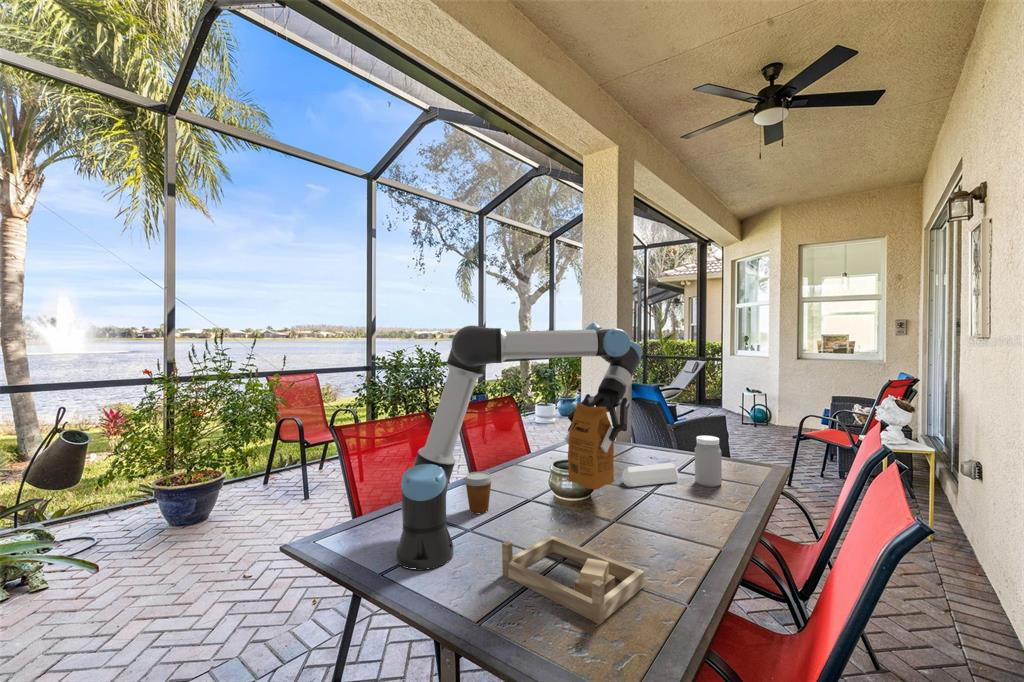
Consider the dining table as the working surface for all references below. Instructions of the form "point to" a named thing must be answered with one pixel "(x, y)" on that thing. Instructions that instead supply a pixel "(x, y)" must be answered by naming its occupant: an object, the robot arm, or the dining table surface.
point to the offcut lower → (588, 590)
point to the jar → (708, 461)
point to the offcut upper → (594, 572)
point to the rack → (588, 607)
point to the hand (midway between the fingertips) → (585, 446)
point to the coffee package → (590, 448)
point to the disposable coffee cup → (478, 491)
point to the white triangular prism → (650, 474)
